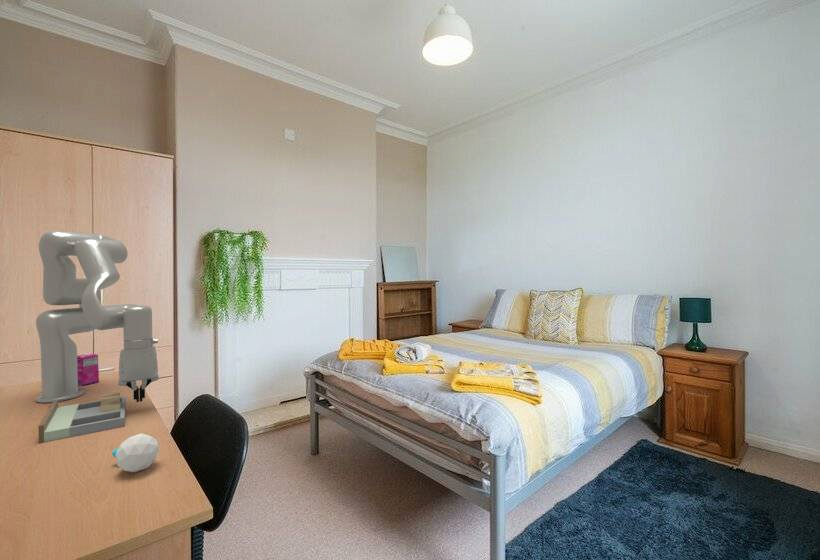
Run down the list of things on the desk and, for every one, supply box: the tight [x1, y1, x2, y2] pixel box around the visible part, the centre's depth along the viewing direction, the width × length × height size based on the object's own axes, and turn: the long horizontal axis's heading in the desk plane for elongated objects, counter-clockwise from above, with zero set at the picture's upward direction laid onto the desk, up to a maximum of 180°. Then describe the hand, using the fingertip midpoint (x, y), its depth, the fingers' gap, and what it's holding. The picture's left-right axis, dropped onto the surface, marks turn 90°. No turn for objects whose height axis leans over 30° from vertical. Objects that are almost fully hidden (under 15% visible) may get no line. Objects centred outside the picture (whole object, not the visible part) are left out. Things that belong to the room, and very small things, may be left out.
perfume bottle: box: [111, 432, 160, 473], centre depth 87 cm, size 8×8×12 cm
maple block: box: [100, 392, 121, 412], centre depth 117 cm, size 4×4×4 cm
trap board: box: [38, 396, 127, 444], centre depth 114 cm, size 23×18×4 cm
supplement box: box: [77, 352, 100, 387], centre depth 151 cm, size 6×6×12 cm
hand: (139, 400), depth 121 cm, fingers closed
